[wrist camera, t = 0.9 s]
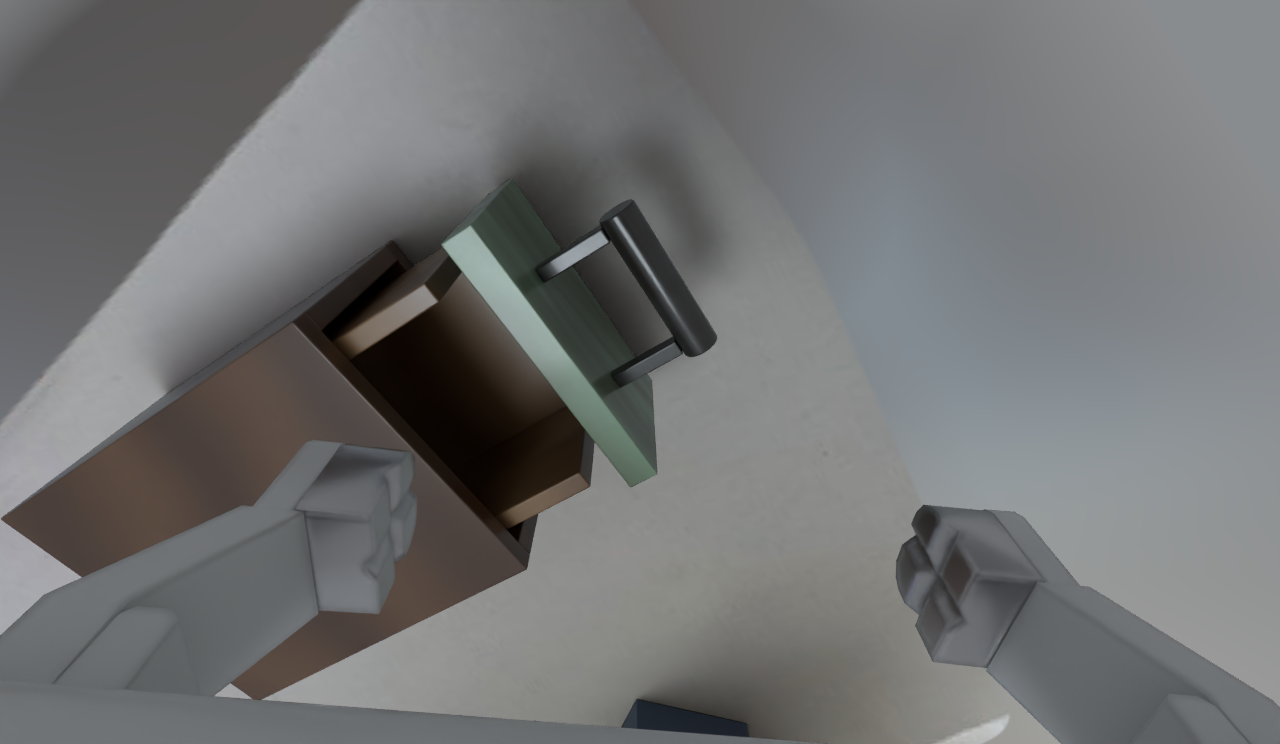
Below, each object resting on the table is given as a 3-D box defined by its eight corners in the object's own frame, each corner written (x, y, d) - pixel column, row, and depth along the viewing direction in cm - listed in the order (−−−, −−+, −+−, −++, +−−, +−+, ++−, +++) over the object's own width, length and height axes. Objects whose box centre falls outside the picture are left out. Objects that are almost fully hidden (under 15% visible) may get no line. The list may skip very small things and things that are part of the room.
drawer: (599, 118, 24) (587, 146, 18) (731, 337, 29) (760, 422, 22) (271, 339, 29) (166, 426, 22) (430, 501, 33) (380, 613, 26)
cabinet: (392, 239, 27) (291, 320, 19) (553, 437, 32) (527, 569, 24) (165, 394, 31) (-1, 519, 23) (342, 553, 36) (256, 702, 28)
